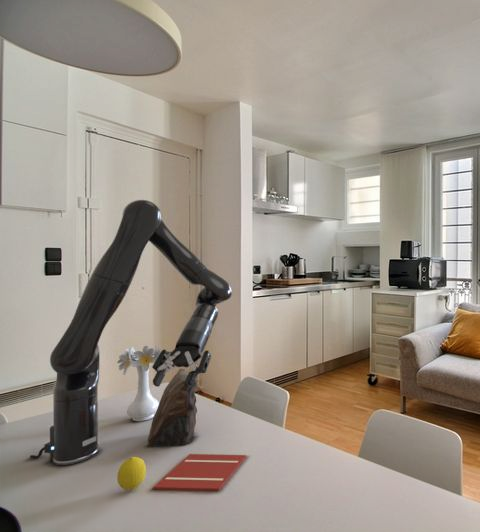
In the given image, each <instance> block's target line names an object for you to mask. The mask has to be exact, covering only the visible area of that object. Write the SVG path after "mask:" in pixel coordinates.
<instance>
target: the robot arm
mask: <svg viewBox="0 0 480 532" xmlns="http://www.w3.org/2000/svg"><path fill="white" fill-rule="evenodd" d="M162 217H163V216H162V211H161V209H160V208H159V207H158V205H157V204H155V202H152V201H150V200H147V199H137V200H132V201H130V202H129V203H127V204H126V206H124V208H123V210H122V218H121V220H120V224H119V226H118V229H117V232H116V234H115V237H114V239H113V240H112V242H111V244H110V245H109V246H108V248H107V249H106V251H105V252H104V254H102V257H101V258H100V260H99V261H98V262H97V264H96V266H95V267H94V269H93V271H92V273H91V275H90V277H89V278H88V281H87V283H86V285H85V287H84V290H83V291H82V294H81V297H80V299H79V302H78V303H77V307H76V309H75V312H74V315H73V317H72V319H71V321H70V323H69V325H68V327H67V328H66V330H65V331H64V333H63V334H62V336H61V338H60V339H59V341H58V342H57V344H56V346H54V348H53V349H52V351H51V353H50V356H49V364H50V367H51V368H52V370H53V371H54V372H55V373H56V380H55V384H54V387H53V392H52V396H53V399H52V400H53V401H52V403H53V404H52V405H53V424H52V425H50V427H49V441H48V442H47V443H45V444H44V446H43V447H42V448H40V449H39V451H38V454H37V455H36V454H35V455H34V454H31V455H30V456H29V459H39V458H40V457H41V456H42V455H43V452H44V454H49V462H50V463H53V464H54V465H56V466H69V465H74V464H78V463H81V462H83V461H87V460H89V459H91V458H93V457H94V456H96V455H97V454H98V453H99V413H98V412H99V407H98V406H99V404H98V403H99V401H98V400H99V398H98V397H99V396H98V395H99V394H98V393H99V392H98V390H99V389H98V388H99V387H98V385H99V380H100V347H99V345H98V344H99V342H100V339H101V336H102V335H103V332H104V330H105V328H106V326H107V325H108V323H109V321H110V320H111V319H112V318H113V316H114V314H115V313H116V312H117V310H118V308H119V307H120V306H121V304H122V303H123V300H124V298H125V297H126V294H127V293H128V291H129V289H130V287H131V284H132V282H133V281H134V277H135V275H136V272H137V269H138V267H139V264H140V261H141V258H142V254H143V252H144V250H145V248H146V246H147V244H148V243H151V244H152V246H153V247H154V248H156V249H157V250H158V251H159V252H160V253H161V254H162V255H163V257H164V258H165V259H166V260H167V261H168V262H169V264H170V265H171V266H173V268H174V269H175V270H176V271H177V272H178V273H179V274H180V275H181V277H183V278H184V279H185V280H186V281H187V282H188V283H189V284H190V285H191V286H203V287H202V288H201V289H200V290H199V292H198V294H197V296H196V301H195V305H194V306H195V307H194V310H193V312H192V314H191V315H190V318H189V319H188V321H187V322H186V324H185V325H184V327H183V328H182V329H183V330H182V331H181V333H180V335H179V337H178V339H177V341H176V343H175V347H174V349H173V350H172V351H168V350H167V349H162V350H160V351H161V353H160V355H159V356H158V358H157V360H156V361H155V363H153V365H152V369H153V370H154V371H155V372H156V373H155V375H154V377H153V379H152V384H153V385H154V387H157V388H158V387H159V388H160V386H161V384H162V382H163V380H164V378H165V376H166V374H167V373H168V372H170V371H172V370H174V369H176V368H190V371H188V372H189V374H188V376H187V378H186V380H185V383H184V385H185V386H186V387H190V386H191V385H192V384H193V383H194V381H195V378H196V379H197V377H198V375H199V374H205V373H206V372H207V370H208V367H209V364H210V361H211V359H212V354H211V353H210V350H205V348H206V345H207V343H208V341H209V339H210V337H211V334H212V332H213V328H214V326H215V323H216V321H217V319H218V317H219V309H218V308H217V305H218V304H221V303H224V302H227V300H229V299H231V298H232V296H233V289H232V286H231V285H230V283H229V282H228V281H227V280H225V278H223V277H221V276H220V275H219V274H217V273H215V272H214V271H212V270H211V269H209V268H208V267H207V266H206V265H205V264H204V262H203V261H202V260H201V259H200V258H199V257H198V256H197V255H196V254H195V253H194V252H193V251H192V250H190V249H189V248H188V246H186V245H185V244H184V243H183V242H182V241H180V240H179V238H177V236H175V235H174V234H173V232H171V230H170V229H169V228H168V226H167V225H166V223H165V222H164V221H163V219H162ZM200 359H201V360H200ZM199 360H200V362H199V364H198V365H197V361H199ZM196 376H197V377H196Z"/></svg>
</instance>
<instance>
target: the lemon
mask: <svg viewBox="0 0 480 532" xmlns="http://www.w3.org/2000/svg"><path fill="white" fill-rule="evenodd" d="M146 474H147V465H146V463H145V461H144V459H142V458H140V457H138V456H130V458H127V459H126V460H125V461H124V462H122V464H121V465H120V466H119V468H118V471H117V476H116V477H117V479H116V480H117V484H118V486H119V487H120V488H121V489H123V490H126V491H128V490H129V491H134V490H135V489H136V488H137V487H139V486H140V485H141V484H142V483H143V481H144V480H145V477H146Z"/></svg>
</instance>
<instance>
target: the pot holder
mask: <svg viewBox="0 0 480 532" xmlns="http://www.w3.org/2000/svg"><path fill="white" fill-rule="evenodd" d="M246 458H247V455H246V454H243V455H242V454H205V453H203V454H202V453H201V454H200V453H189V454H188V455H187V456H186V457H185V458H183V460H182V461H180V462H179V464H177V465H176V466H175V467H173V469H172V470H170V471H169V472H168V473H167V474H166V475H165V476H164V477H162V479H161V480H160V481H158V482H157V483H156V484H154V486H153V487H152V489H153V490H155V491H156V490H160V491H163V490H164V491H200V492H201V491H205V492H207V491H208V492H219V491H221V489H222V488H223V487H224V485H225V484H226V483H227V482H228V480H230V478H231V477H232V476H233V474H234V473H235V472H236V471H237V469H238V468H239V467H240V466H241V464H242V463H243V462H244V461H245V460H246Z"/></svg>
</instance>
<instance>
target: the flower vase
mask: <svg viewBox="0 0 480 532" xmlns="http://www.w3.org/2000/svg"><path fill="white" fill-rule="evenodd" d="M161 351H162V350H161V349H160V348H158V346H157V345H155V349H154V348H152V347H151V348H150V347H149V346H148V345H144V346H143V348H142V350H141V351H140V350H135V348H134V346H131V347H129V348H126V349H125V351H124V354H123V353H122V354H120V355H118V358H119V360H118V361H117V362H116V363H117V364H119V365H118V371H123V375H124V376H125V375H126V373H127V371H128V370H129V368H130V367H132V368H136V370H137V391H136V395H135V397H134V399H133V400H132V402H130V404H129V405H128V407H127V409H126V414H127V415H128V416H129V417H130V418H132V421H134V422H144V421H147V420H151V419H153V418H154V416H155V413H156V411H157V408H158V406H159V403H160V401H159V400H158V399H156V397H154V396H153V395H152V393H151V389H150V379H149V377H150V374H149V373H150V368H151V365H152V364H154V363H155V361H156V360H157V358H158V356H159V355H160V353H161Z"/></svg>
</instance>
